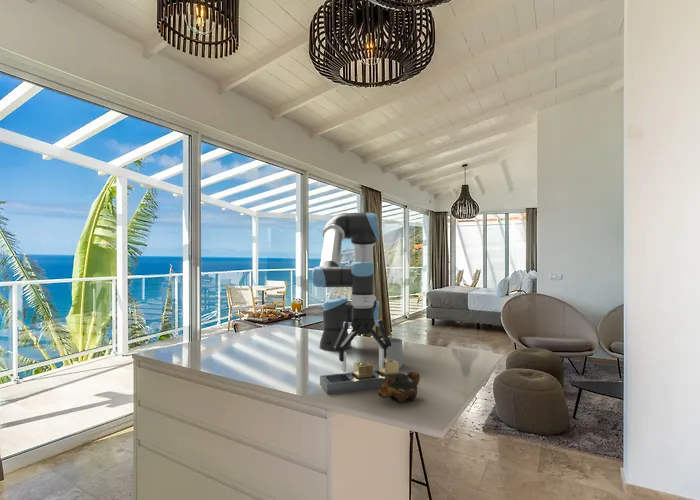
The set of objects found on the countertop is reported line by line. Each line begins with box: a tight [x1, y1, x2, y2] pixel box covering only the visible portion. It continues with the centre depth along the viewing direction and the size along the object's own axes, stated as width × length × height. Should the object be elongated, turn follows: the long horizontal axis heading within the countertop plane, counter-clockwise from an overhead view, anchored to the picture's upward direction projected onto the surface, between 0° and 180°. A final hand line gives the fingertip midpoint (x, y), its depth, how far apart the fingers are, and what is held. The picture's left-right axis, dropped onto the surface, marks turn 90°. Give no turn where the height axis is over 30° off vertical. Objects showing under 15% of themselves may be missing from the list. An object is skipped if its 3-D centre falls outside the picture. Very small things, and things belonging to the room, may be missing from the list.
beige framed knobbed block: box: [378, 359, 400, 377], centre depth 138 cm, size 5×5×7 cm
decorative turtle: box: [377, 370, 421, 404], centre depth 121 cm, size 10×15×8 cm, turn 126°
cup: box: [381, 337, 403, 368], centre depth 158 cm, size 8×8×10 cm
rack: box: [319, 369, 404, 395], centre depth 135 cm, size 9×28×3 cm, turn 108°
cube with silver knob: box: [353, 361, 374, 380], centre depth 135 cm, size 5×5×7 cm
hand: (363, 369), depth 135 cm, fingers open, 13 cm apart
